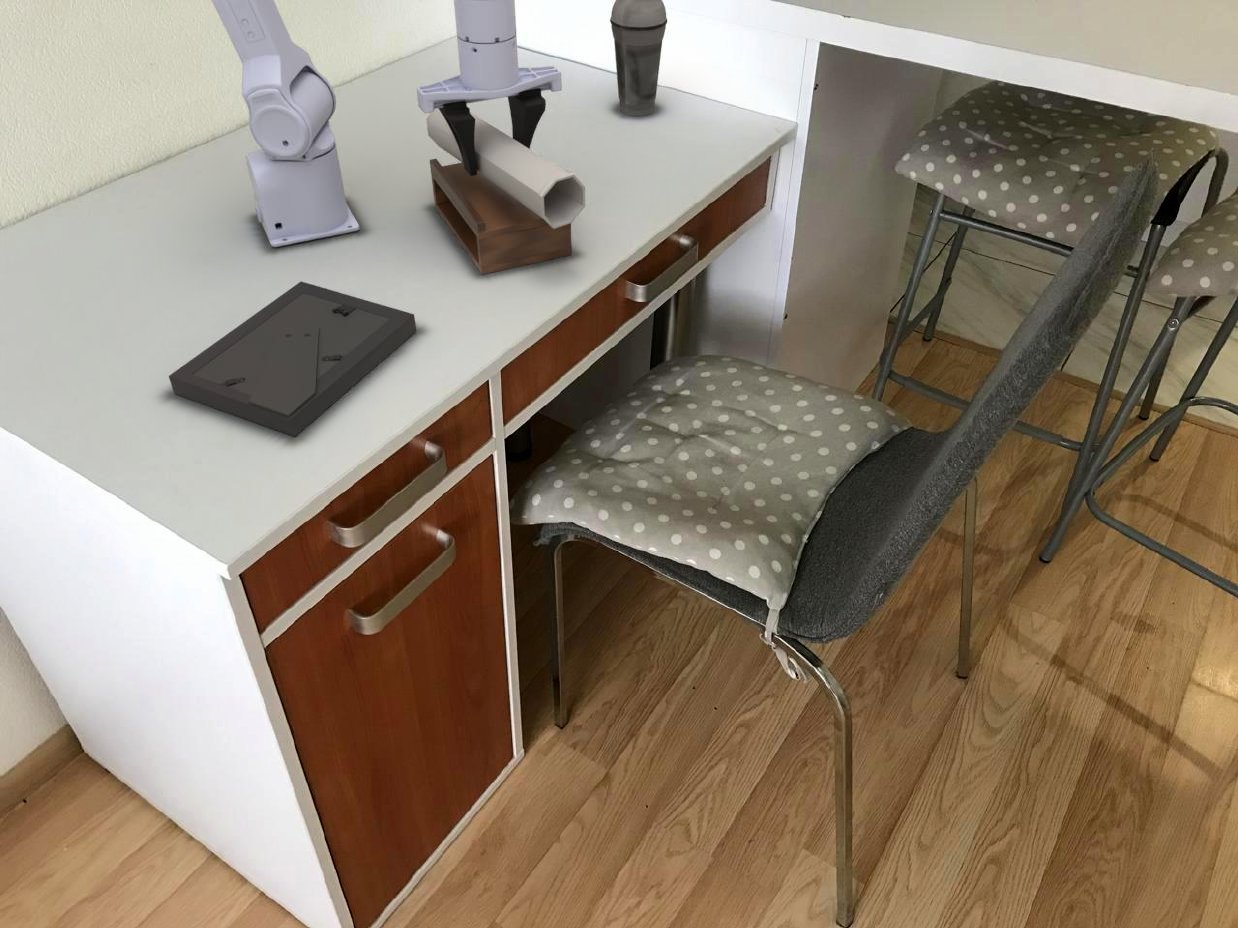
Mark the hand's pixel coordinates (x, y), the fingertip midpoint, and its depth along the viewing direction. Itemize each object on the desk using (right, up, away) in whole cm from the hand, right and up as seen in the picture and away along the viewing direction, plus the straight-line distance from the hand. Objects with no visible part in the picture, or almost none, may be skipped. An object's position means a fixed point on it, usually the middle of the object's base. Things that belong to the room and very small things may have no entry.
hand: (496, 167), depth 110 cm
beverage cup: (+15, +16, +30) cm, 38 cm away
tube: (0, -1, +1) cm, 2 cm away
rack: (0, -6, +5) cm, 7 cm away
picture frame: (-16, -22, -14) cm, 31 cm away
